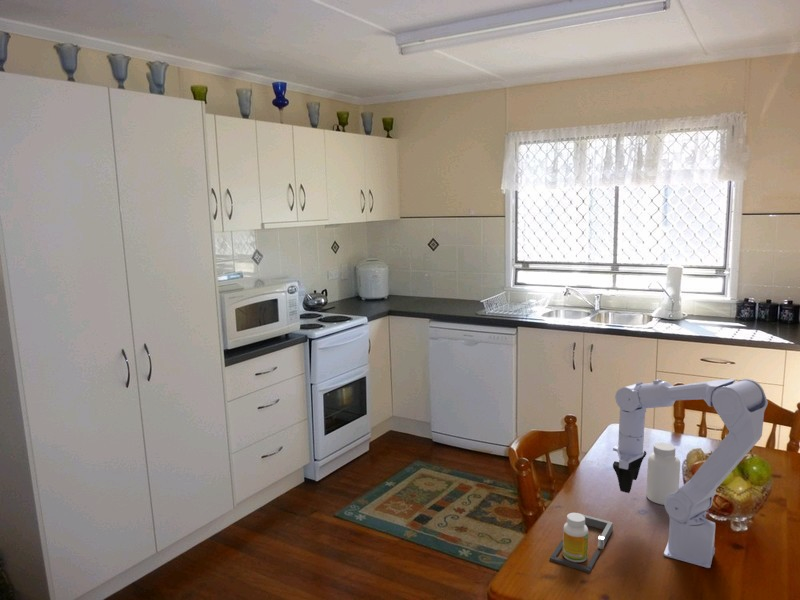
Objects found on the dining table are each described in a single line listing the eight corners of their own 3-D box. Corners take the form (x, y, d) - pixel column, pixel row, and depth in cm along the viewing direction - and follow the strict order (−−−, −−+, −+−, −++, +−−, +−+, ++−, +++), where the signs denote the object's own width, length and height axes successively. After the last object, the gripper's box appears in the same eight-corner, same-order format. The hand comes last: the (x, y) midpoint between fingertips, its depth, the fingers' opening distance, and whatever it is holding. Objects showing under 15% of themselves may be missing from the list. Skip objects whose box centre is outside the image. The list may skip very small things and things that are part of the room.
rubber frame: (600, 553, 139) (600, 550, 138) (589, 572, 132) (589, 570, 131) (561, 542, 143) (561, 539, 143) (549, 560, 136) (549, 557, 136)
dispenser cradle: (612, 529, 148) (613, 520, 148) (602, 549, 140) (603, 539, 140) (575, 519, 153) (575, 511, 153) (563, 538, 145) (563, 528, 145)
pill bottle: (645, 503, 161) (648, 449, 158) (646, 489, 168) (648, 438, 165) (678, 508, 158) (682, 454, 155) (677, 494, 165) (680, 442, 162)
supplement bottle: (587, 564, 134) (589, 524, 133) (562, 561, 136) (564, 521, 134) (586, 551, 140) (587, 512, 138) (562, 548, 141) (563, 509, 139)
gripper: (621, 420, 155) (618, 469, 157) (606, 439, 143) (604, 493, 145) (650, 425, 151) (647, 476, 153) (638, 446, 139) (635, 500, 141)
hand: (628, 485), depth 149 cm, fingers open, 7 cm apart
